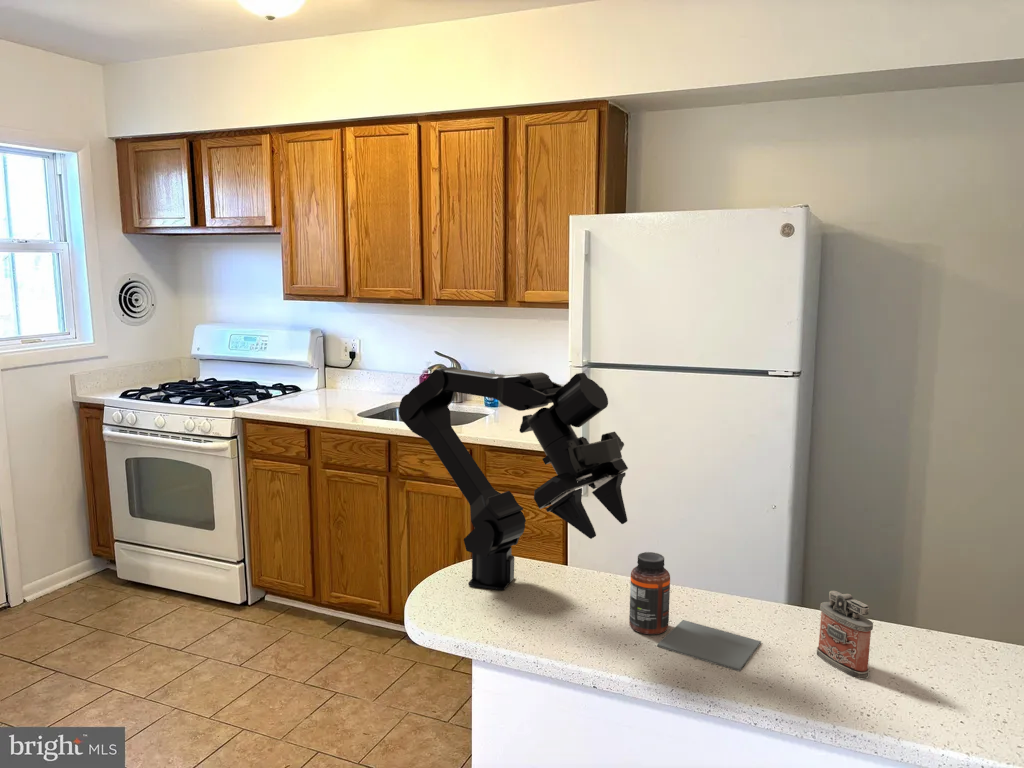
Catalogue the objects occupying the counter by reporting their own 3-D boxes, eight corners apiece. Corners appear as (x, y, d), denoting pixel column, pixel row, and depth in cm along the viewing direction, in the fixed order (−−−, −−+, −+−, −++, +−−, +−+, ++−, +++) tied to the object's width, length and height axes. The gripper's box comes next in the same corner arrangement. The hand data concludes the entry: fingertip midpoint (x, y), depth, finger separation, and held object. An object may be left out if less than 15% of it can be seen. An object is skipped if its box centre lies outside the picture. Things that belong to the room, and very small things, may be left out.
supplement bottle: (666, 620, 118) (669, 550, 117) (670, 637, 112) (674, 564, 111) (627, 617, 119) (630, 548, 117) (629, 635, 113) (632, 562, 111)
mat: (657, 646, 109) (657, 644, 109) (682, 621, 118) (682, 619, 118) (739, 671, 103) (739, 669, 103) (760, 643, 111) (760, 641, 111)
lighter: (810, 653, 108) (815, 586, 107) (828, 649, 110) (833, 583, 108) (856, 680, 101) (862, 609, 100) (874, 676, 102) (881, 605, 101)
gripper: (559, 424, 108) (615, 520, 104) (625, 408, 122) (676, 493, 118) (510, 461, 114) (561, 554, 110) (579, 443, 129) (626, 524, 124)
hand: (609, 529), depth 115 cm, fingers open, 9 cm apart
